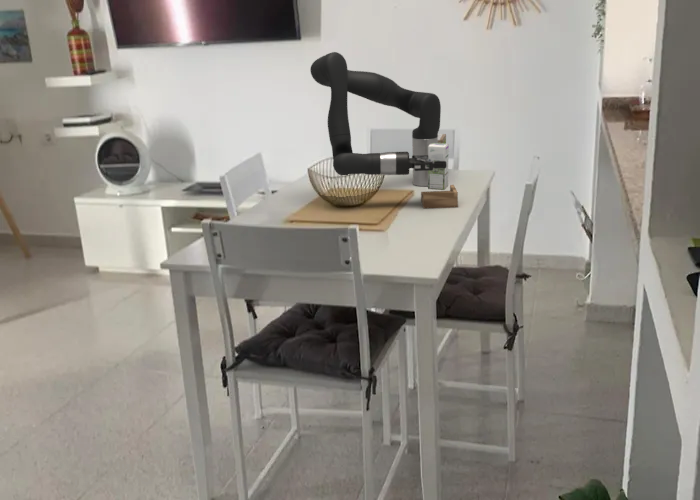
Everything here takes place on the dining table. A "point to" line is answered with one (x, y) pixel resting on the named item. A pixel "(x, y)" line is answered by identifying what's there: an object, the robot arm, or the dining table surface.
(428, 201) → the walnut tray
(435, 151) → the syrup box
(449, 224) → the dining table surface
